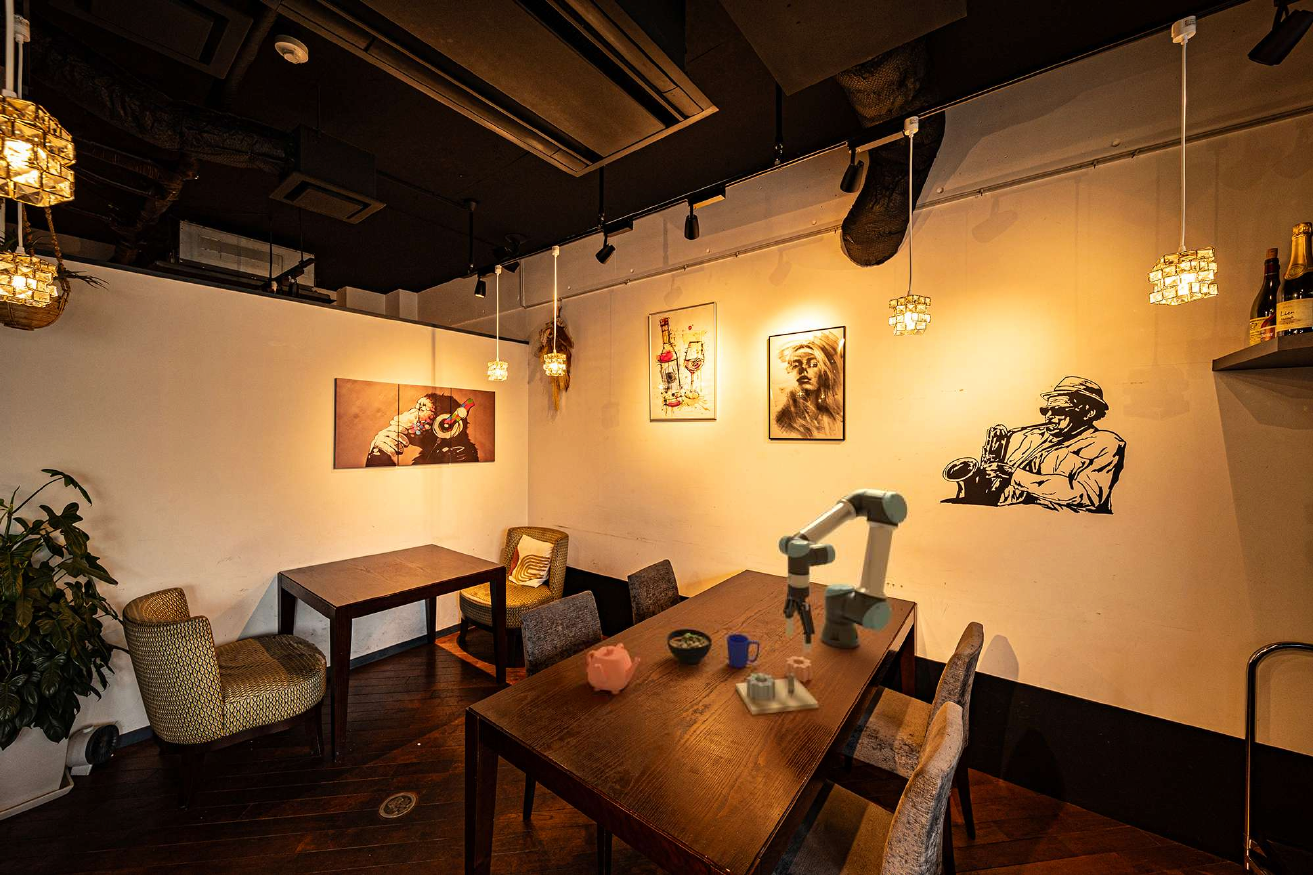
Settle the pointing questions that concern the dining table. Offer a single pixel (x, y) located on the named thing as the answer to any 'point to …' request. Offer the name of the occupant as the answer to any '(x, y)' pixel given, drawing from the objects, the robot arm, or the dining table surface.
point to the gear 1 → (761, 687)
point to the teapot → (610, 668)
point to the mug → (739, 650)
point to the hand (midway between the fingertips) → (797, 643)
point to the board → (780, 697)
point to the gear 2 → (799, 668)
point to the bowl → (689, 646)
